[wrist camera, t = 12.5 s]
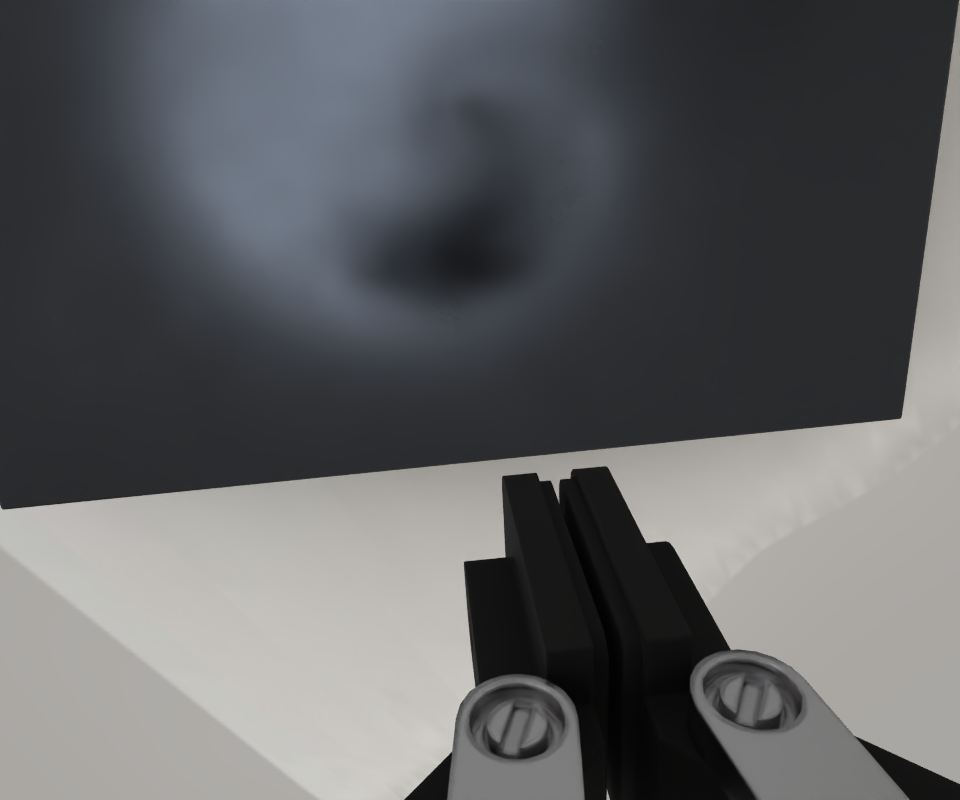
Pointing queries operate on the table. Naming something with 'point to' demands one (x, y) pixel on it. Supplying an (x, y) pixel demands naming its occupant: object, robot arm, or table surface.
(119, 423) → the screen
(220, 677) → the table surface
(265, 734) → the table surface
